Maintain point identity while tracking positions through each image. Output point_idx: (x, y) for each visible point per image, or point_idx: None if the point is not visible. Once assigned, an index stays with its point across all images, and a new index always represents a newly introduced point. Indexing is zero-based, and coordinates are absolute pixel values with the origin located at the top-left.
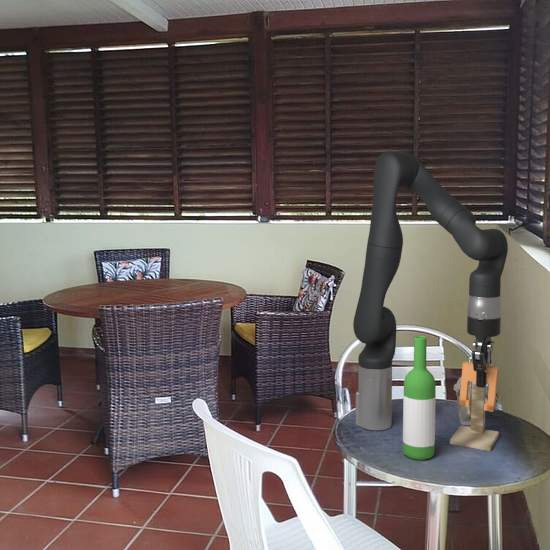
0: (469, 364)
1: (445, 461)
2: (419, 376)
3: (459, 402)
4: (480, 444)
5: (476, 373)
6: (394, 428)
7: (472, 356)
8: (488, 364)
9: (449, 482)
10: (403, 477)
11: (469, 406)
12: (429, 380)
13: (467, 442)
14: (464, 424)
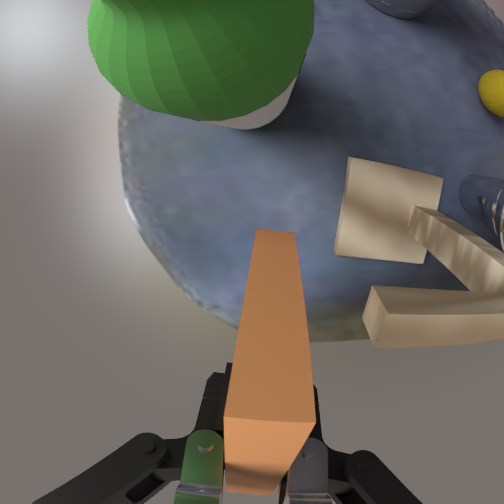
0: (227, 443)
1: (234, 160)
2: (88, 21)
3: (256, 234)
4: (341, 233)
5: (216, 419)
6: (391, 24)
7: (44, 497)
8: (280, 488)
9: (135, 191)
10: (119, 103)
11: (484, 209)
12: (121, 86)
13: (345, 201)
14: (461, 185)
